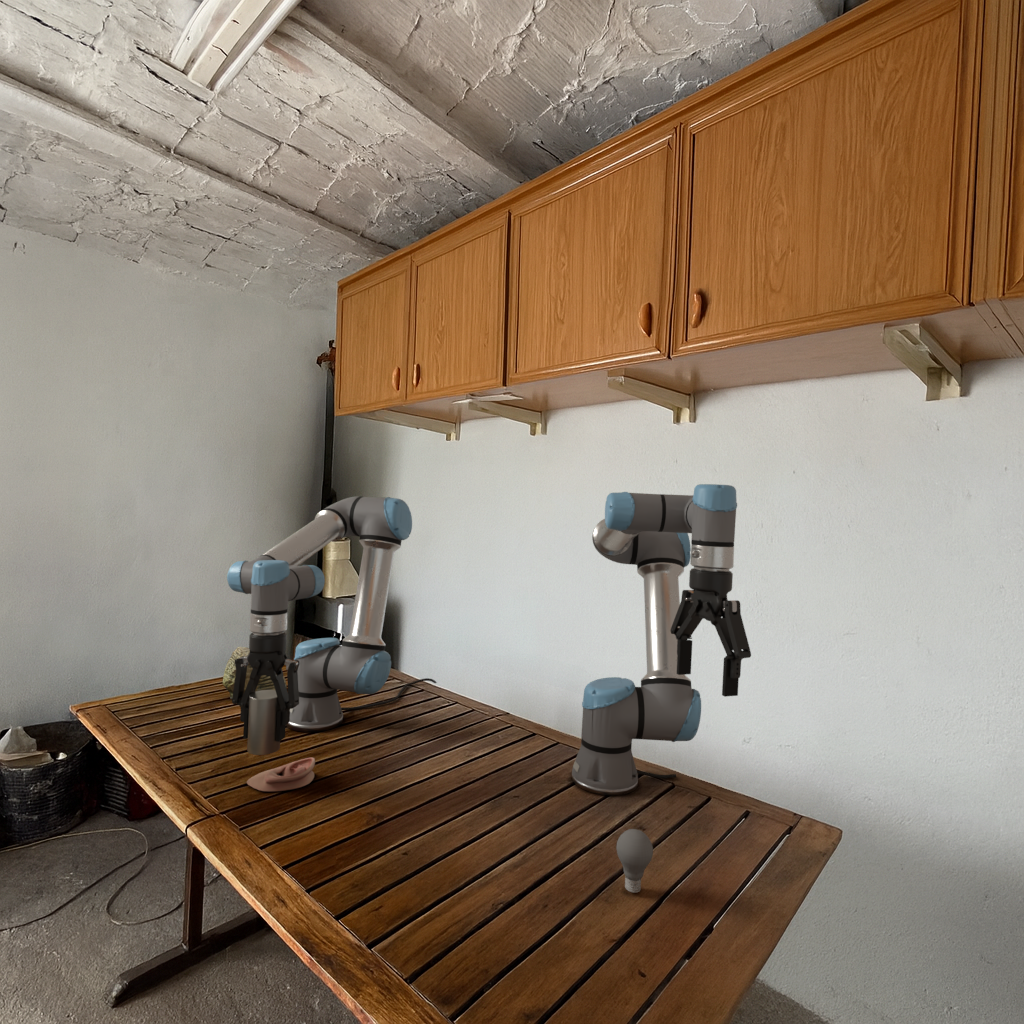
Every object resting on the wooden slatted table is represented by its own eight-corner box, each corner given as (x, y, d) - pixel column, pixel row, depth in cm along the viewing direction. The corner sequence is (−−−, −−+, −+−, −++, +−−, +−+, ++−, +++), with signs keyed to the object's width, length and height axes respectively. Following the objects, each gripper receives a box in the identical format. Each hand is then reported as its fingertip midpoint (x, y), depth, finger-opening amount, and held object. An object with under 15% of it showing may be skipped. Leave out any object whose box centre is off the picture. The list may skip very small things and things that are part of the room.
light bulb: (610, 879, 108) (613, 822, 108) (644, 879, 109) (647, 822, 109) (619, 902, 102) (622, 840, 102) (655, 901, 103) (658, 840, 103)
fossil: (218, 695, 195) (220, 647, 195) (278, 685, 208) (279, 640, 207) (228, 703, 189) (230, 653, 188) (289, 692, 201) (290, 645, 201)
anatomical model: (238, 769, 136) (269, 749, 147) (238, 787, 136) (269, 766, 147) (295, 777, 133) (322, 756, 144) (294, 796, 133) (321, 773, 144)
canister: (256, 757, 133) (258, 701, 132) (241, 748, 137) (243, 693, 137) (285, 749, 138) (287, 694, 137) (270, 740, 142) (272, 687, 142)
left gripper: (215, 632, 134) (211, 740, 134) (304, 638, 132) (300, 748, 133) (234, 625, 142) (230, 728, 142) (319, 631, 140) (314, 735, 140)
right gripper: (656, 561, 126) (651, 667, 127) (740, 577, 103) (733, 707, 103) (688, 561, 129) (682, 665, 129) (777, 577, 105) (770, 704, 106)
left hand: (264, 737), depth 137 cm, fingers closed on canister, 7 cm apart
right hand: (705, 684), depth 116 cm, fingers open, 13 cm apart
